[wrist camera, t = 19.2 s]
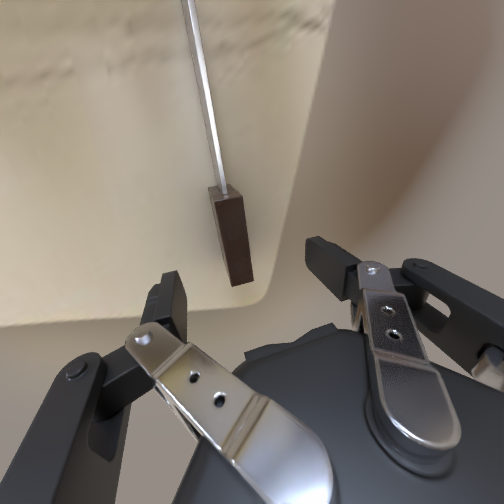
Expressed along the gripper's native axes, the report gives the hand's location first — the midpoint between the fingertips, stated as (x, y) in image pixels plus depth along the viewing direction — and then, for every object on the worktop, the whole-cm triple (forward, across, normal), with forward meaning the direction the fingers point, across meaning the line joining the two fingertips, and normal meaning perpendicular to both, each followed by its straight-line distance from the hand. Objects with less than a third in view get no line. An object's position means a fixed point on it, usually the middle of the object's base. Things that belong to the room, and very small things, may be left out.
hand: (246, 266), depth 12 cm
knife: (+12, 0, -5) cm, 13 cm away
